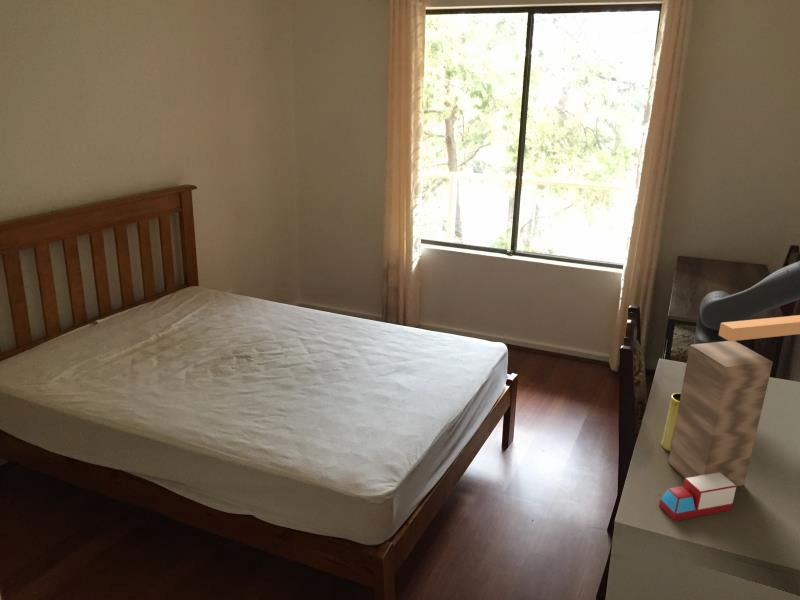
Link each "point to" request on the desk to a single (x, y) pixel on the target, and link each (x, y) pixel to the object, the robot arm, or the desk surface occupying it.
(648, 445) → the desk surface
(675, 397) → the vase
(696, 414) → the pedestal
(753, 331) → the light orange bar
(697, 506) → the toy truck
